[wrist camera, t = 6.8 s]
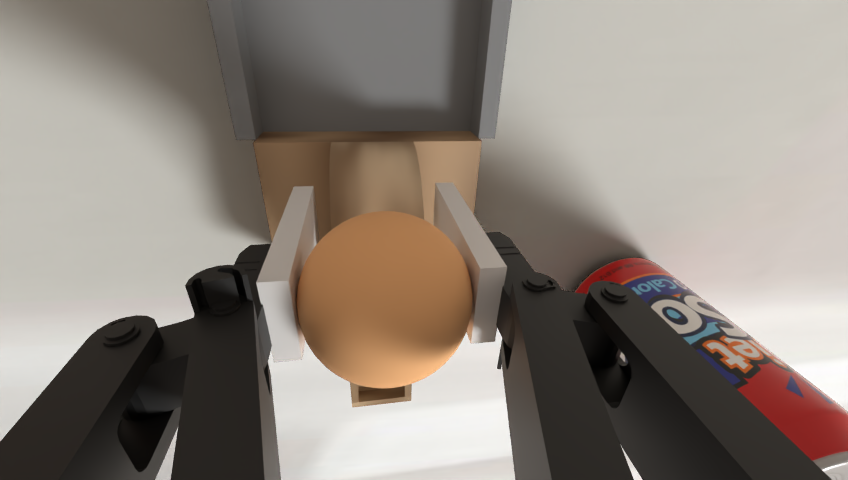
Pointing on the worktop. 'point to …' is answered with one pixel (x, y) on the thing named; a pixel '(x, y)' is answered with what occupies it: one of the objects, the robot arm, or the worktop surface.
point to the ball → (384, 299)
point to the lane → (361, 64)
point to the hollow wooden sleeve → (378, 395)
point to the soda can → (741, 363)
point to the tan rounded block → (365, 171)
